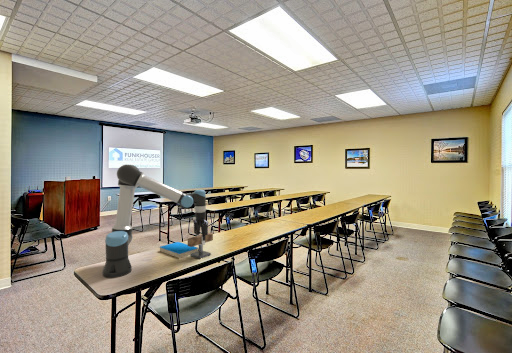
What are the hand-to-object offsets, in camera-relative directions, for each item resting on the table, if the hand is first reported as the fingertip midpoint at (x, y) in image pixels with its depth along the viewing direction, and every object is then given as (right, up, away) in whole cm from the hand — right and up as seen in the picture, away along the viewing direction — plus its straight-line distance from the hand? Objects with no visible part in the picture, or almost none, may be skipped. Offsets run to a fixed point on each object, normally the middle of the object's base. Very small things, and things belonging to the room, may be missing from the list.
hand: (201, 244), depth 178 cm
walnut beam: (0, +1, 0) cm, 1 cm away
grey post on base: (0, -8, 0) cm, 8 cm away
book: (-18, -9, +9) cm, 22 cm away
